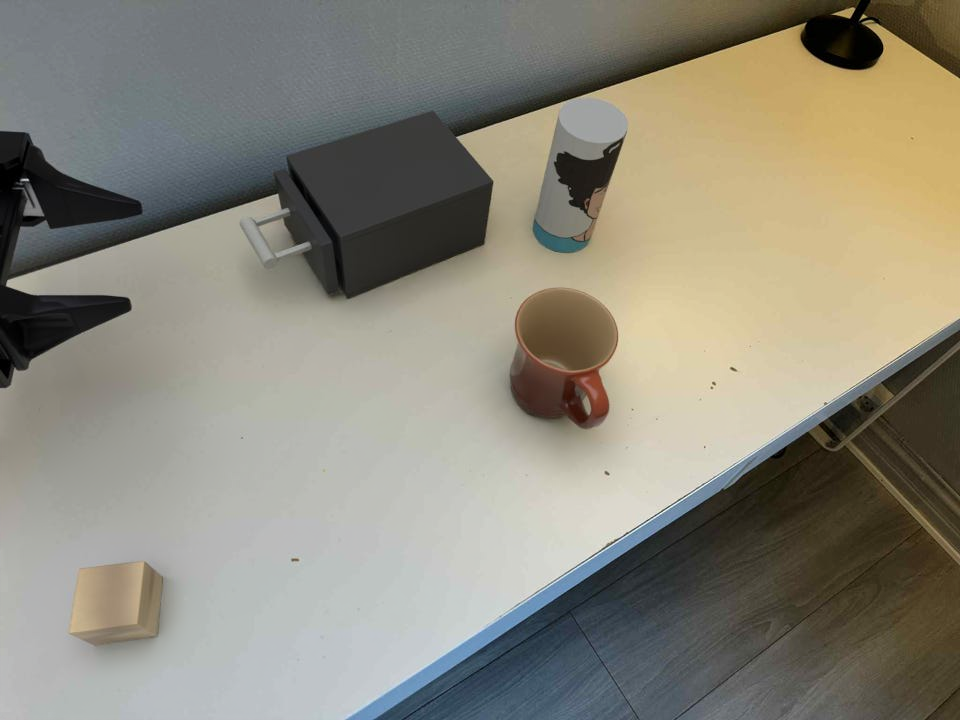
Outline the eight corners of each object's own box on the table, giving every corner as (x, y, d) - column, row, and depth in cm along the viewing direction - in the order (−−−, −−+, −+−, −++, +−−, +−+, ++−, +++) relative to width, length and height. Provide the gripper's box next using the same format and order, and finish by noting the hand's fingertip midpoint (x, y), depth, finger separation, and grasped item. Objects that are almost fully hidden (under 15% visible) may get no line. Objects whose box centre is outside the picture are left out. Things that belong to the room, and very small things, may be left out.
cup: (584, 259, 73) (621, 150, 61) (526, 242, 74) (551, 131, 61) (596, 218, 77) (633, 108, 64) (540, 203, 78) (566, 90, 65)
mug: (486, 365, 65) (498, 300, 56) (566, 342, 67) (589, 277, 58) (536, 473, 59) (559, 420, 50) (621, 444, 61) (656, 388, 53)
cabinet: (347, 299, 67) (340, 237, 60) (298, 221, 72) (285, 155, 65) (484, 244, 73) (494, 181, 66) (430, 175, 78) (433, 110, 71)
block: (93, 645, 48) (67, 633, 45) (102, 584, 51) (78, 568, 47) (157, 636, 49) (137, 624, 45) (163, 576, 51) (144, 560, 48)
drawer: (281, 314, 64) (269, 265, 58) (239, 240, 69) (223, 187, 63) (460, 243, 72) (466, 192, 66) (412, 180, 76) (412, 127, 70)
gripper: (-274, 282, 32) (91, 280, 36) (-153, 53, 42) (123, 73, 46) (-146, 399, 41) (134, 386, 45) (-71, 188, 51) (154, 194, 55)
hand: (136, 253), depth 47 cm, fingers open, 9 cm apart
